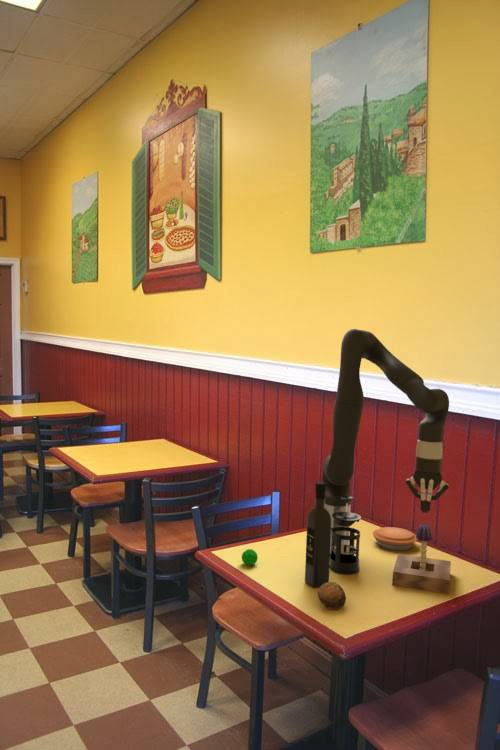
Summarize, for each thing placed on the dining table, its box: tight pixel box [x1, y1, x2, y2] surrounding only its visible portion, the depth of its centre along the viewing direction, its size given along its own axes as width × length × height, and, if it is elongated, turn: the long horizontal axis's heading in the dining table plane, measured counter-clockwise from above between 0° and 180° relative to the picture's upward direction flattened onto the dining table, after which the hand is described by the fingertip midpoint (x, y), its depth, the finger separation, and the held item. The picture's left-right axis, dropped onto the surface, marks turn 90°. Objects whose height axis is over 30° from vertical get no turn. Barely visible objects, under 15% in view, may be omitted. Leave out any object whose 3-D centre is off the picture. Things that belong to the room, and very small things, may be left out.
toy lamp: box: [415, 523, 433, 571], centre depth 185 cm, size 5×5×17 cm
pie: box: [372, 526, 418, 551], centre depth 216 cm, size 16×16×5 cm
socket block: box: [391, 553, 452, 595], centre depth 186 cm, size 16×16×4 cm
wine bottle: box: [304, 481, 331, 588], centre depth 179 cm, size 6×6×30 cm
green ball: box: [241, 548, 259, 566], centre depth 193 cm, size 5×5×5 cm
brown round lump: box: [317, 581, 347, 611], centre depth 166 cm, size 8×8×6 cm
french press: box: [329, 495, 362, 575], centre depth 192 cm, size 12×9×23 cm
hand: (425, 512), depth 184 cm, fingers closed
